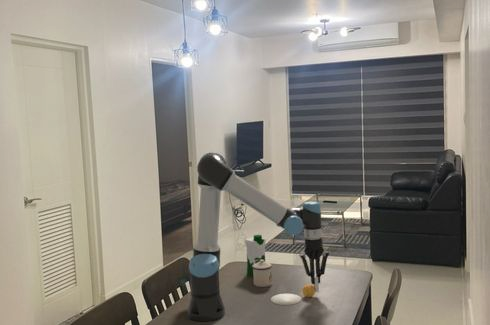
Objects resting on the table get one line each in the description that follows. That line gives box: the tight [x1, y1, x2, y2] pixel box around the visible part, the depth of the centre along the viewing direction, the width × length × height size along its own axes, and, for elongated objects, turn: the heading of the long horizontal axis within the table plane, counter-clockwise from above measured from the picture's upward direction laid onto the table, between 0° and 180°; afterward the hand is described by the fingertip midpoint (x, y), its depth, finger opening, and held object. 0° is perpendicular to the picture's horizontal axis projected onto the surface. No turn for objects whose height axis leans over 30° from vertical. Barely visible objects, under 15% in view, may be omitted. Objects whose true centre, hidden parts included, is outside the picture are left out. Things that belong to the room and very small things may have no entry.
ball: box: [301, 283, 316, 298], centre depth 218 cm, size 6×6×6 cm
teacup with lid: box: [252, 260, 273, 288], centre depth 239 cm, size 12×9×12 cm
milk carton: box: [244, 234, 267, 277], centre depth 252 cm, size 9×9×20 cm
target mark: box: [270, 293, 302, 306], centre depth 217 cm, size 13×13×1 cm
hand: (316, 290), depth 219 cm, fingers closed
